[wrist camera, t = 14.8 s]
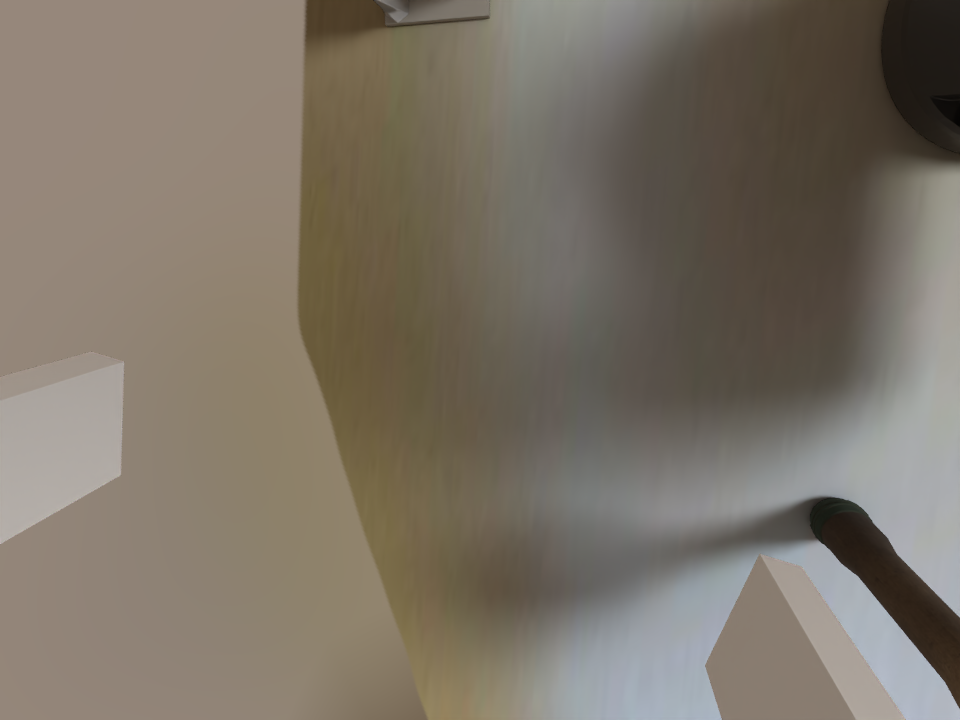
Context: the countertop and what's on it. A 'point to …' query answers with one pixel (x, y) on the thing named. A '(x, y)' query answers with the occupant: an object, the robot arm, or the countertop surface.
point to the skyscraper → (432, 11)
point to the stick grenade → (892, 584)
